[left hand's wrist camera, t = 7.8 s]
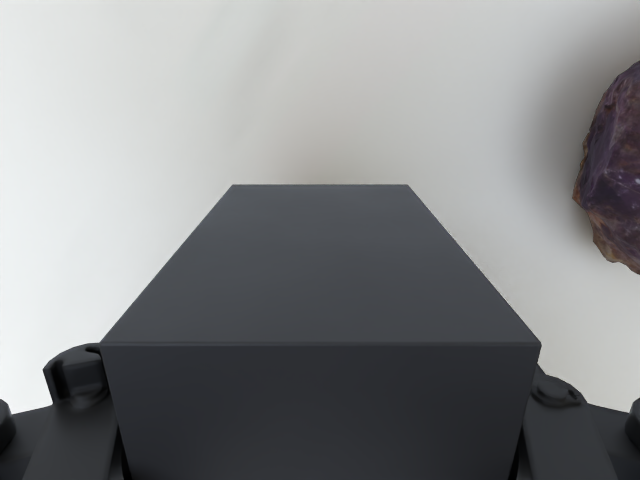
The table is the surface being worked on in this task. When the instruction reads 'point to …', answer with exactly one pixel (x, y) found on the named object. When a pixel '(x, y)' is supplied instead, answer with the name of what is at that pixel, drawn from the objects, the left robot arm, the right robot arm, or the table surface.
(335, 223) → the box
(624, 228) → the rock
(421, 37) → the table surface
